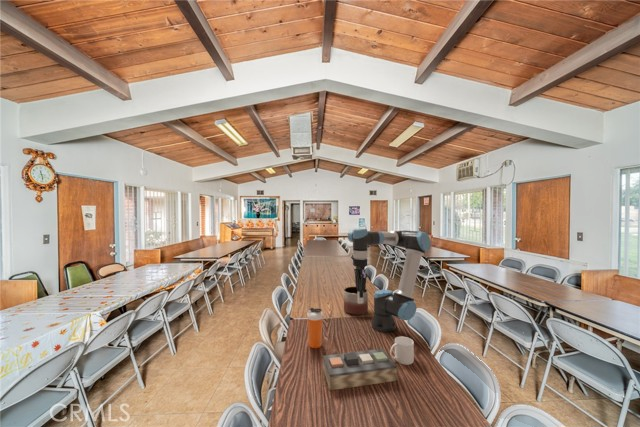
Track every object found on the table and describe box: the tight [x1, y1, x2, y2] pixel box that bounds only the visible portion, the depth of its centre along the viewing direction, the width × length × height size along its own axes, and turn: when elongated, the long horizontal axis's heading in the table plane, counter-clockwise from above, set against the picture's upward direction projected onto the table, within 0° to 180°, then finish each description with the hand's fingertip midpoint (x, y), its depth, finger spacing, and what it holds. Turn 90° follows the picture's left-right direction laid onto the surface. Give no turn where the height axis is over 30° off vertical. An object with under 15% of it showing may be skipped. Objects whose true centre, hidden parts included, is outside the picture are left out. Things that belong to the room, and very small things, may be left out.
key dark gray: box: [344, 351, 358, 366], centre depth 112 cm, size 5×5×4 cm
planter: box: [343, 286, 369, 316], centre depth 186 cm, size 18×18×16 cm
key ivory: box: [359, 354, 373, 364], centre depth 114 cm, size 5×5×4 cm
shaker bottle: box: [306, 307, 324, 349], centre depth 139 cm, size 9×9×20 cm
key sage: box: [373, 352, 388, 362], centre depth 115 cm, size 5×5×4 cm
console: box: [322, 348, 398, 391], centre depth 113 cm, size 30×14×6 cm, turn 101°
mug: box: [389, 335, 415, 366], centre depth 125 cm, size 12×9×9 cm
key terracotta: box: [329, 357, 343, 368], centre depth 111 cm, size 5×5×4 cm
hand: (360, 302), depth 131 cm, fingers closed
